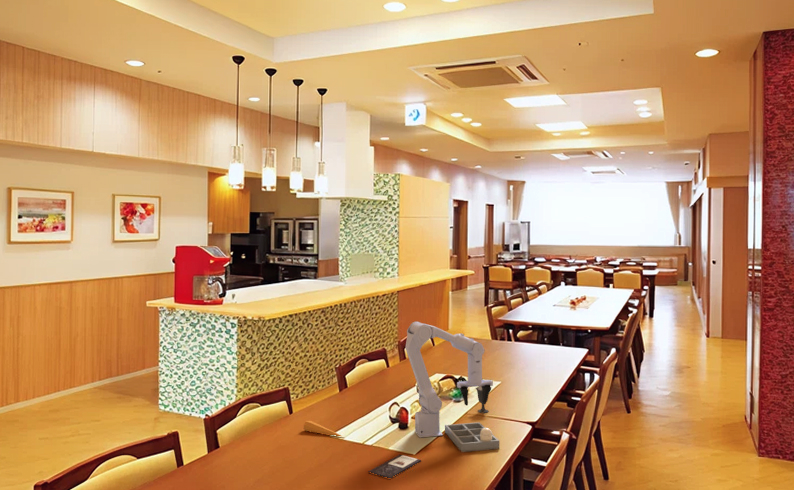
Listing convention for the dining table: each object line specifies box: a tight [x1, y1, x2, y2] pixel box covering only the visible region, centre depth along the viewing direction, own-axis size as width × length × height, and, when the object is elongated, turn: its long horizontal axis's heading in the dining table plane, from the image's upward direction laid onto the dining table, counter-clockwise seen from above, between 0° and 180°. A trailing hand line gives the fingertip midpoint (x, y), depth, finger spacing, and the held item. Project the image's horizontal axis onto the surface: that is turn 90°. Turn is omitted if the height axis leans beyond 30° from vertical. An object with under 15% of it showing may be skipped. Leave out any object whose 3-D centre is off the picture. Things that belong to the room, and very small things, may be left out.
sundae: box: [475, 378, 490, 414], centre depth 258 cm, size 7×7×15 cm
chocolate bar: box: [367, 454, 422, 479], centre depth 198 cm, size 9×1×18 cm
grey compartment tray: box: [444, 421, 500, 453], centre depth 222 cm, size 14×21×3 cm
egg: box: [480, 427, 493, 441], centre depth 216 cm, size 4×4×6 cm
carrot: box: [303, 420, 342, 436], centre depth 231 cm, size 20×4×4 cm, turn 61°
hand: (475, 404), depth 237 cm, fingers open, 7 cm apart
